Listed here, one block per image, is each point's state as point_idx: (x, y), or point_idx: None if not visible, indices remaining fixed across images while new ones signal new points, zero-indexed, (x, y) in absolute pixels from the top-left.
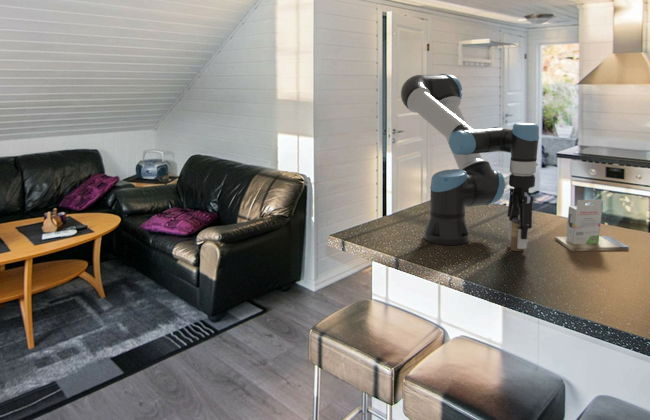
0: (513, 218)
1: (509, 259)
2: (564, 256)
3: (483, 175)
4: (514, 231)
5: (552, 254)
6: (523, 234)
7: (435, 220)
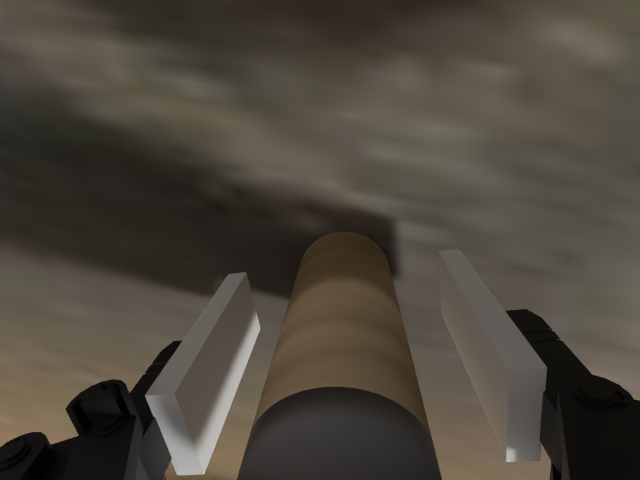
0: (373, 449)
1: (104, 181)
2: None
3: None
4: (291, 328)
5: None
6: (144, 384)
7: None
